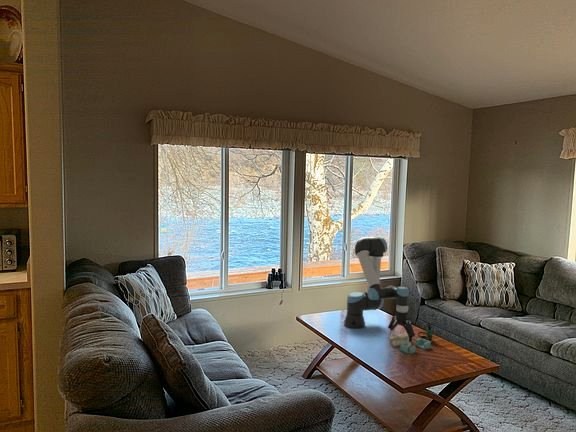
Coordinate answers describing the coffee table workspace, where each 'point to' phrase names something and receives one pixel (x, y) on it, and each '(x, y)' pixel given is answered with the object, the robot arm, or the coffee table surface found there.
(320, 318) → the coffee table surface
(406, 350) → the cap
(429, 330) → the binoculars
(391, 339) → the beige long bar
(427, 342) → the cap
